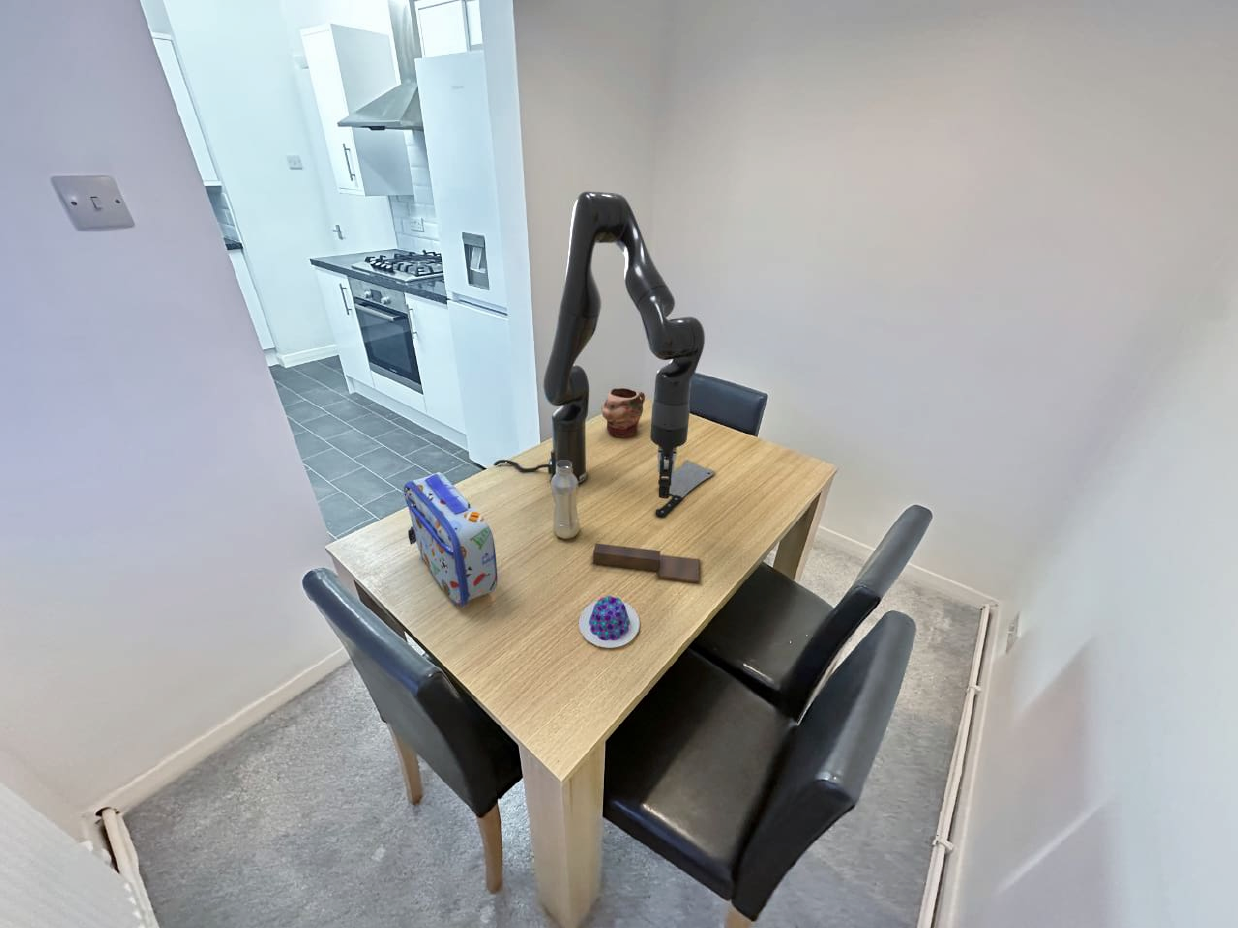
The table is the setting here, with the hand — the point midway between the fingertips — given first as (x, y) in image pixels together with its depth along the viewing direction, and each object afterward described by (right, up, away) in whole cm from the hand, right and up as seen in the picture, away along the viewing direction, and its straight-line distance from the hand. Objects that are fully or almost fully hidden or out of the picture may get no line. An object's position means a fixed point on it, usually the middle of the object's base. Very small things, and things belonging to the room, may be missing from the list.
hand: (664, 486), depth 107 cm
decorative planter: (-8, +17, +63) cm, 65 cm away
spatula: (-4, -18, +5) cm, 20 cm away
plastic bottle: (-23, -12, +14) cm, 30 cm away
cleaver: (+7, -2, +32) cm, 33 cm away
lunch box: (-46, -19, +2) cm, 50 cm away
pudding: (-12, -27, -9) cm, 31 cm away
